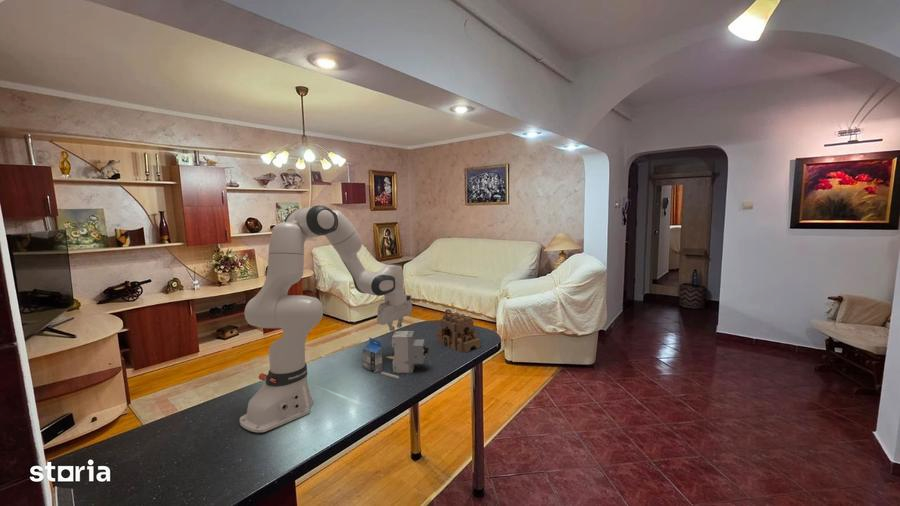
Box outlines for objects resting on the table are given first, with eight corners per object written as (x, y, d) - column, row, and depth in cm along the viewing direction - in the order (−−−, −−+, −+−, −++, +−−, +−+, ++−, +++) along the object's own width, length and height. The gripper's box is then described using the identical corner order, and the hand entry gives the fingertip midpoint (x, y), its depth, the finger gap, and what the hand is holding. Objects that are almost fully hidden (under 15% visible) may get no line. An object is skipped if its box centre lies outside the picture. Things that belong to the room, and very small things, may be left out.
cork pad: (400, 361, 157) (400, 360, 157) (383, 357, 162) (383, 356, 162) (410, 356, 162) (410, 355, 162) (393, 352, 168) (393, 351, 168)
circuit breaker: (427, 372, 145) (426, 336, 144) (392, 372, 145) (391, 337, 144) (429, 364, 152) (428, 330, 151) (396, 365, 153) (394, 331, 151)
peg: (397, 379, 139) (397, 377, 139) (380, 374, 144) (380, 372, 144) (399, 378, 140) (399, 375, 140) (382, 373, 145) (382, 370, 145)
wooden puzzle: (483, 346, 173) (483, 309, 171) (461, 354, 164) (460, 314, 162) (454, 336, 190) (453, 301, 188) (432, 342, 180) (431, 306, 179)
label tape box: (362, 367, 151) (361, 339, 150) (370, 364, 154) (369, 337, 153) (375, 373, 145) (373, 344, 144) (383, 370, 148) (382, 341, 147)
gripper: (383, 304, 149) (385, 336, 151) (413, 295, 167) (414, 324, 168) (372, 303, 153) (374, 334, 154) (403, 294, 170) (404, 322, 171)
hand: (395, 329), depth 161 cm, fingers open, 4 cm apart
